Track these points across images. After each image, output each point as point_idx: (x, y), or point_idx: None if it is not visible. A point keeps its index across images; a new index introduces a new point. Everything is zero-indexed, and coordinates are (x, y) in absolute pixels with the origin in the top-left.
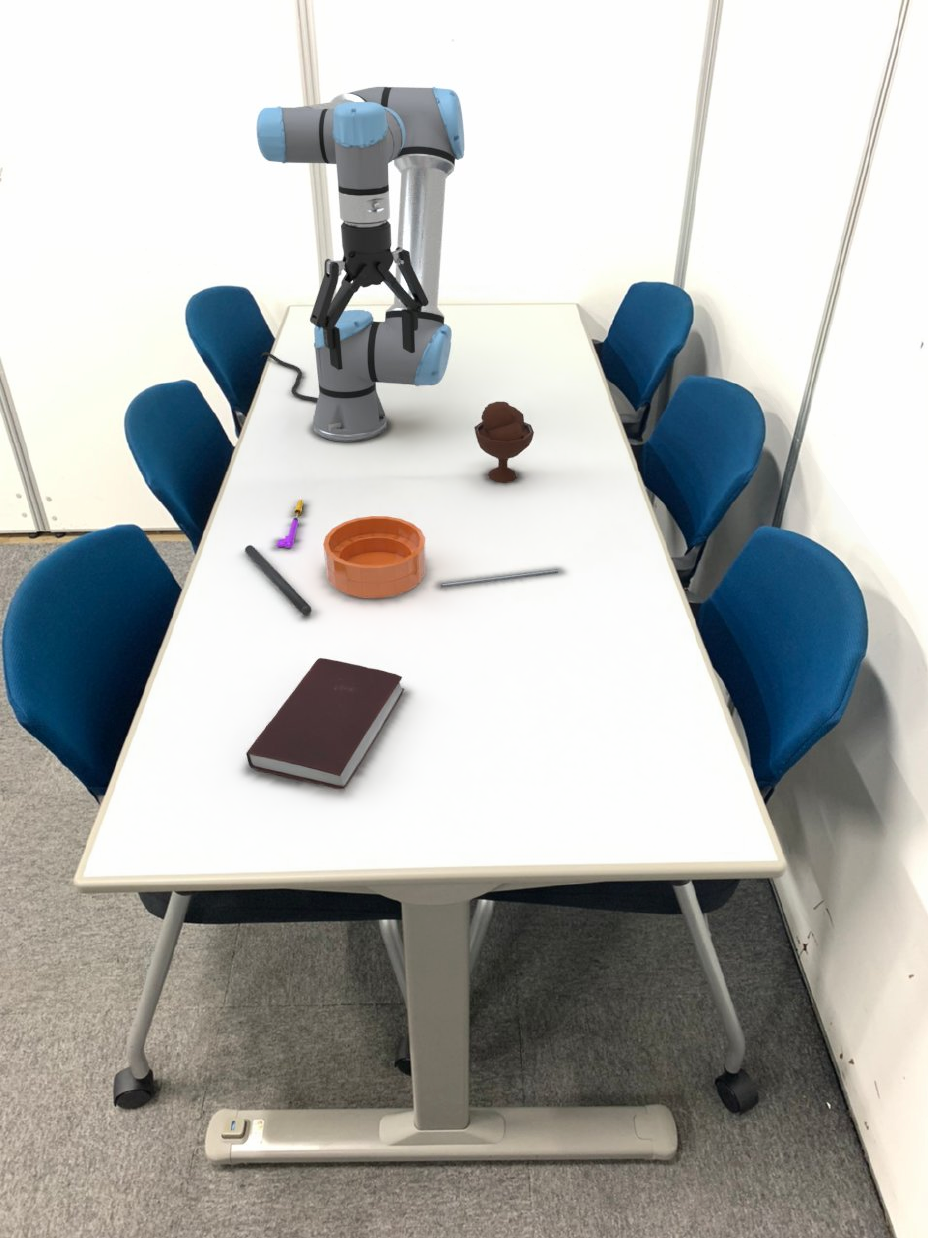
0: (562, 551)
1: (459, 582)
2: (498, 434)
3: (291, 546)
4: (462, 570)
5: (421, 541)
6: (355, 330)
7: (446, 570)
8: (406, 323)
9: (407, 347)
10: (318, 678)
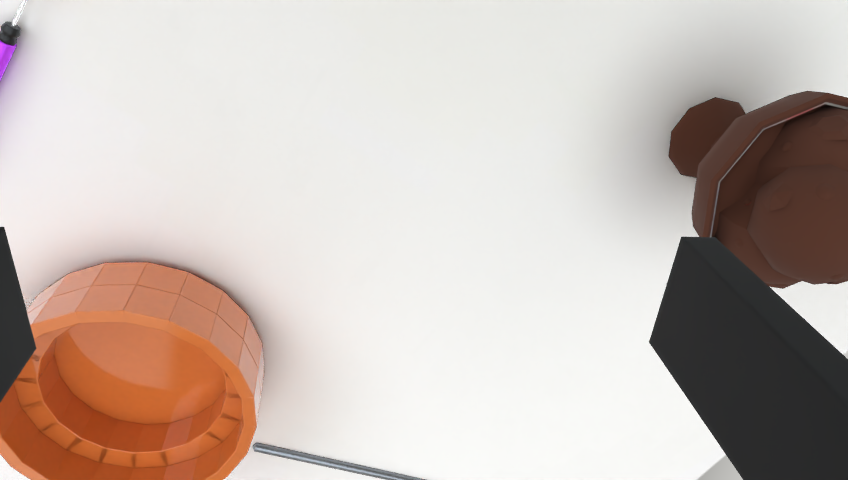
0: (531, 452)
1: (289, 458)
2: (737, 257)
3: None
4: (324, 422)
5: (230, 462)
6: None
7: (295, 409)
8: (795, 469)
9: (675, 316)
10: None
